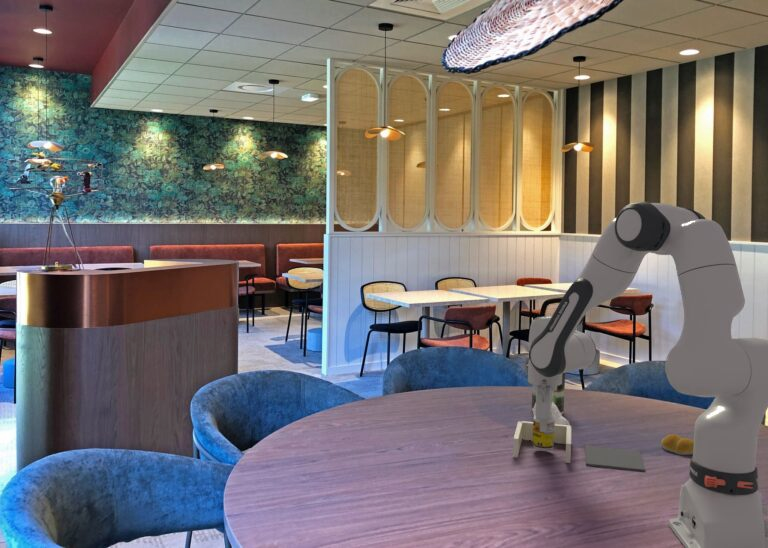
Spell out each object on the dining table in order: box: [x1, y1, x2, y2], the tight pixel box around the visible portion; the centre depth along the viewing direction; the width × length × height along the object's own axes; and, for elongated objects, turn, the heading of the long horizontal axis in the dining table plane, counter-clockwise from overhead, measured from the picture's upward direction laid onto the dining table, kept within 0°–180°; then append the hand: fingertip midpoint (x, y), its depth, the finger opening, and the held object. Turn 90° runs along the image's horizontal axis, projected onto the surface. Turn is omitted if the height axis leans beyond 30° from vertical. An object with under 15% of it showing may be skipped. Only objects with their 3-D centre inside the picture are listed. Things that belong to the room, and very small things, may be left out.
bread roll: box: [660, 433, 694, 456], centre depth 181 cm, size 8×9×4 cm
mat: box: [584, 445, 646, 472], centre depth 174 cm, size 14×14×1 cm
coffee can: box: [531, 373, 566, 415], centre depth 215 cm, size 10×10×14 cm
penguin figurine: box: [532, 402, 571, 426], centre depth 197 cm, size 6×8×12 cm
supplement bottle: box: [531, 410, 555, 451], centre depth 178 cm, size 6×6×10 cm
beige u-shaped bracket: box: [512, 420, 572, 464], centre depth 180 cm, size 16×14×5 cm
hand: (543, 427), depth 178 cm, fingers closed on supplement bottle, 5 cm apart
